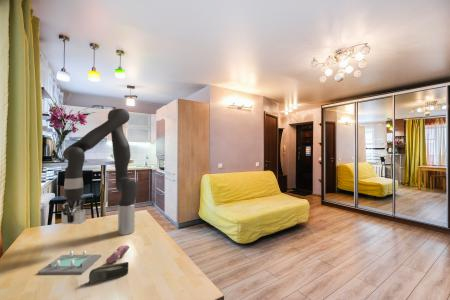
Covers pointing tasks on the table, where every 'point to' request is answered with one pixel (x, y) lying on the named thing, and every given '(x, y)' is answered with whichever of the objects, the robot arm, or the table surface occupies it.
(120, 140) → the robot arm
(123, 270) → the mobile phone
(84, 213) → the block
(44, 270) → the docking tray
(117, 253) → the pink oblong lump
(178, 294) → the table surface
